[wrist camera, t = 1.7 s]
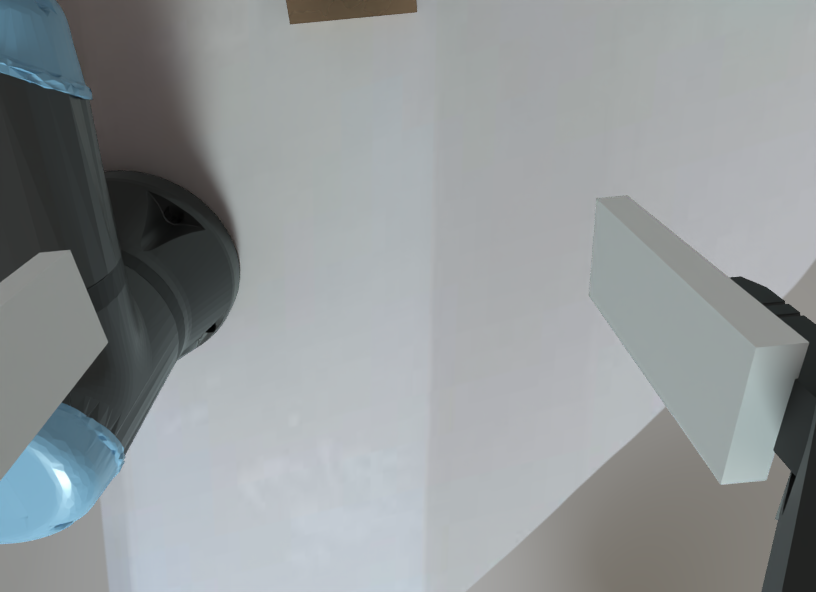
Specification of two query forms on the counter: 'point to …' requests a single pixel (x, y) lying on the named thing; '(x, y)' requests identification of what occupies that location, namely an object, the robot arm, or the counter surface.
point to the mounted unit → (345, 9)
